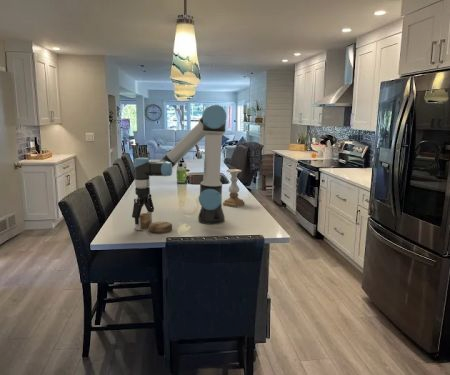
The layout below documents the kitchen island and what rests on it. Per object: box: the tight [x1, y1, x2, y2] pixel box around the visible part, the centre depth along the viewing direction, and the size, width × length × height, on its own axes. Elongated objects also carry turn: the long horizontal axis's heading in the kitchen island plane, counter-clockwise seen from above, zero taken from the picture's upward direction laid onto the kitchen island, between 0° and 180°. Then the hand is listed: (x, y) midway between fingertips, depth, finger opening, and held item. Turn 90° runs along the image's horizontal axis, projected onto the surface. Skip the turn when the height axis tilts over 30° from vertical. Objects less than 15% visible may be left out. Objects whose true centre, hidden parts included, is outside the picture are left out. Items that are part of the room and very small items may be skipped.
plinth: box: [148, 221, 173, 235], centre depth 194 cm, size 12×12×3 cm
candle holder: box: [222, 168, 246, 208], centre depth 249 cm, size 11×11×24 cm
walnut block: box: [139, 212, 150, 230], centre depth 199 cm, size 5×5×7 cm
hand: (144, 226), depth 200 cm, fingers open, 11 cm apart
